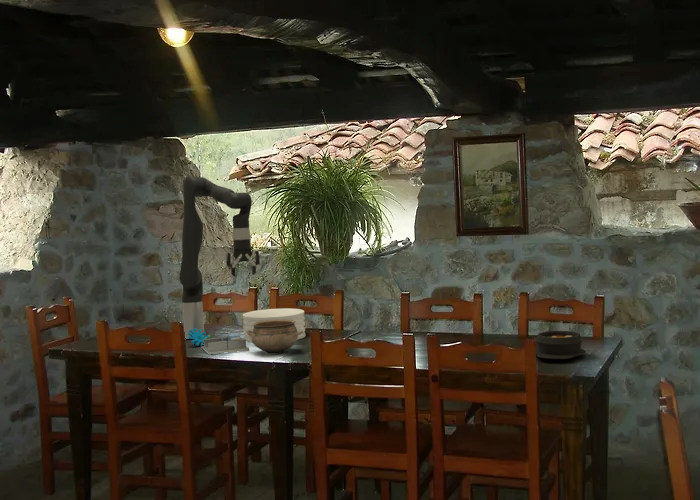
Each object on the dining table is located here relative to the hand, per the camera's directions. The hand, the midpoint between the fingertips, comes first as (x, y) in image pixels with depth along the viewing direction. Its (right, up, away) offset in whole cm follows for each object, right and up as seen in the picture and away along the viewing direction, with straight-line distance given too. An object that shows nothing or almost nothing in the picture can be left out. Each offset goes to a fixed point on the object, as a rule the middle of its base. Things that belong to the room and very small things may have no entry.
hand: (243, 275), depth 336 cm
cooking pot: (+16, -31, -22) cm, 41 cm away
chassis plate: (-6, -31, -11) cm, 34 cm away
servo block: (-3, -30, -10) cm, 31 cm away
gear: (-20, -31, +3) cm, 37 cm away
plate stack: (+12, -29, +16) cm, 35 cm away
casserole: (+122, -28, -57) cm, 138 cm away
